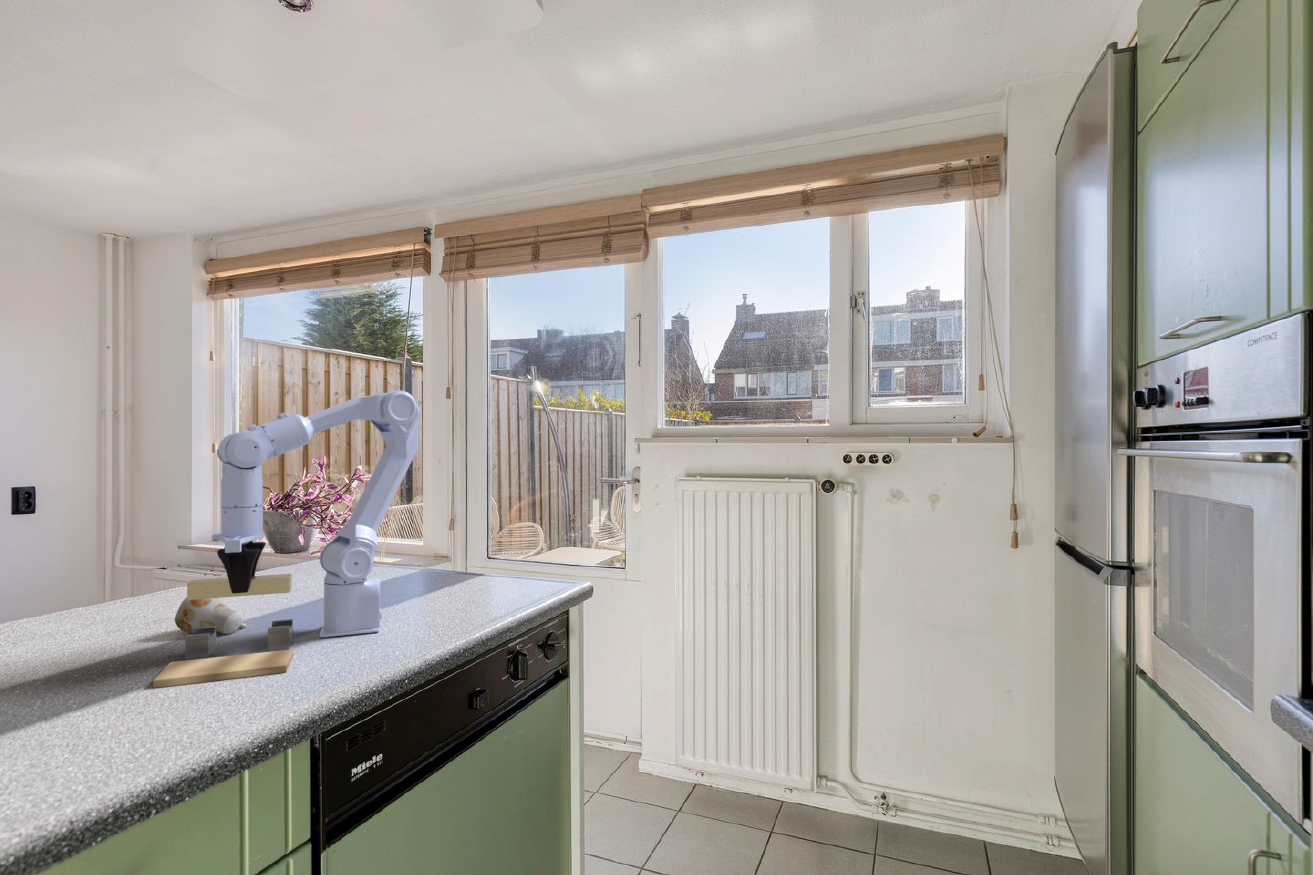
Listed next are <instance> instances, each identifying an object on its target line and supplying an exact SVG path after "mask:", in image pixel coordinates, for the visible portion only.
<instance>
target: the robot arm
mask: <svg viewBox="0 0 1313 875" xmlns="http://www.w3.org/2000/svg"><path fill="white" fill-rule="evenodd" d="M421 414H422V411H421V409H420V408H419V405H418V403H417V402H416V399H415V397H414V396H413V395H412V394H410V393H409V392H407V391H404V390H400V389H399V390H393V391H391V392H389V391H388V392H376V393H374V394H372V395H364V396H359V397H355V398H351V399H349V400H346V401H343V402H341V403H339V404H336V405H334V406H330V407H329V408H326V409H323V410H320V411H318V412H315V413H313V414H309V415H307V416H303V415H301V414H297V413H295V412H294V413H290V414H288V412H281V413H279V414H277V415H276V417H277V418H276V419H273V420H270V421H267V422H265V423H261V424H259V425H258V424H257V425H256V424H255V423H253V424H250V425H247V427H246V428H247V430H243V431H241V432H240V431H239V432H232V433H230V434H228V435H226V436H225V437H223V439H222V440H221V441H220V443H219V446H218V449H216V455H217V457H218V459H219V461H220V462H222V464H221V465H222V468H221V474H222V476H221V480H220V492H221V493H220V506H221V507H220V510H221V511H220V533H214V534H212V536H211V540H212V541H216V540H217V541H218V540H219V541H221V542H222V543H224V548H220V549H218V550H217V551H216V553H217V557H218V558H219V559H220V561H221V563H222V564H223V567H224V570H225V572H226V575H227V578H228V580H229V585H230V588H231V591H232V594H234V593H247V592H248V589H249V586H250V581H251V576H256V571H257V566H258V563H259V560H260V556H261V554H262V552H263V551H264V549H265V547H266V542H264V541H263V542H262V541H257V540H259V539H264V538H265V532H264V477H263V464H264V463H265V461H266V459H273V458H275V457H279V456H282V455H283V454H285V453H288V452H291V451H294V450H297V449H299V448H301V447H304V446H307V445H308V444H310V442H311V439H312V438H313V436H314V435H315V434H318V433H320V432H323V431H326V430H329V429H332V428H334V427H338V426H341V425H344V424H347V423H350V422H352V421H355V420H359V421H369V422H370V423H371V424H372V425H373V426H374V427H375V428H376V429H377V431H378V432H379V433H380V435H381V437H382V438H383V441H384V443H385V449H384V450H383V452H382V454H381V456H380V458H379V460H378V462H377V464H376V466H375V467H374V470H373V472H372V474H371V476H370V477H369V479H368V482H367V484H366V486H365V488H364V490H363V492H362V493H361V495H360V497H359V500H358V501H357V503H356V505H355V507H354V509H353V511H352V513H351V515H350V517H349V519H348V522H347V523H346V524H345V525H343V526H342V527H341V528H340V529H339V530H338V531H336V533H335V536H334V538H333V539H332V540H331V541H330V542H328V543H327V544H326V545H325V546H324V547H323V549H322V550H321V552H320V554H319V564H320V567H321V568H322V569H323V570H324V571H325V572H326V574H325V576H324V578H323V624H322V626H321V629H320V632H319V638H330V637H338V636H340V637H341V636H349V635H360V634H367V633H368V634H370V633H379V632H380V631H381V630H380V628H381V627H380V625H381V620H382V619H383V611H382V610H383V609H382V608H381V578H372V577H371V578H369V575H370V574H371V572H372V570H373V567H374V560H375V558H374V557H375V552H376V550H377V547H378V536H377V533H378V531H379V529H380V527H381V524H382V522H383V521H384V518H385V517H386V514H387V512H388V510H389V508H390V507H391V504H392V502H393V501H394V498H395V496H396V494H397V491H398V490H399V488H400V486H401V484H402V482H403V480H404V477H405V476H406V474H407V471H408V470H409V468H410V465H411V464H412V462H413V459H414V458H415V456H416V453H417V451H418V448H419V446H420V444H419V443H420V440H419V438H420V437H419V420H420V417H421ZM254 541H257V542H254Z"/></svg>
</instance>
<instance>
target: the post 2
mask: <svg viewBox="0 0 1313 875" xmlns="http://www.w3.org/2000/svg"><path fill="white" fill-rule="evenodd" d="M293 641H294V618H289V619H280V620H271V626H270V627H267V652H271V651H281V650H290V649H291V646H292V644H293Z"/></svg>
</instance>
